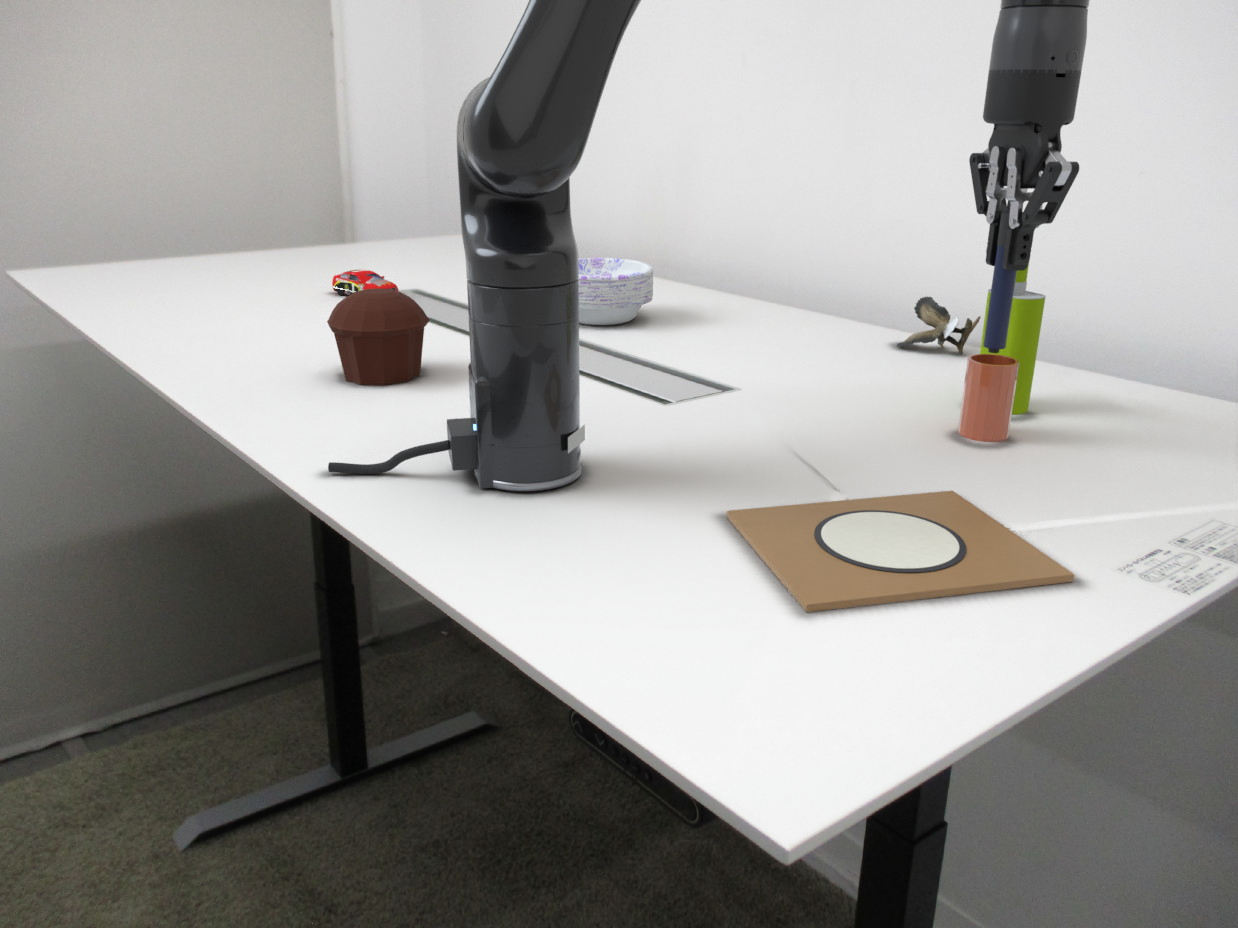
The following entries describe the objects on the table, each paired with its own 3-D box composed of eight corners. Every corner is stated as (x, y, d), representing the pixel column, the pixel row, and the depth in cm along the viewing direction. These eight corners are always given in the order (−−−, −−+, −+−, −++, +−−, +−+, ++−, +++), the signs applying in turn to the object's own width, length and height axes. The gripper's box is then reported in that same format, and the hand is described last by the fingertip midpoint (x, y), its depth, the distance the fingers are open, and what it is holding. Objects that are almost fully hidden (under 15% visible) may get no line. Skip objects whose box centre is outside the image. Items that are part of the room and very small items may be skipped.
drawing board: (806, 612, 66) (807, 602, 66) (726, 517, 80) (726, 508, 80) (1073, 581, 70) (1075, 572, 70) (951, 496, 85) (952, 488, 85)
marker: (989, 355, 95) (1010, 214, 90) (977, 350, 97) (996, 211, 92) (1009, 354, 95) (1030, 213, 91) (997, 349, 97) (1017, 211, 93)
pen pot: (974, 447, 96) (985, 367, 94) (948, 432, 101) (958, 355, 98) (1016, 444, 97) (1029, 364, 95) (989, 429, 102) (1000, 352, 99)
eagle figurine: (978, 338, 134) (915, 317, 138) (983, 300, 129) (917, 279, 133) (952, 377, 131) (889, 354, 135) (956, 339, 126) (890, 317, 130)
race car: (405, 299, 163) (403, 274, 161) (377, 304, 159) (375, 279, 157) (355, 288, 171) (354, 264, 169) (328, 293, 167) (326, 268, 165)
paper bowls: (594, 336, 139) (594, 278, 136) (529, 317, 150) (527, 264, 147) (674, 320, 149) (675, 266, 146) (606, 304, 159) (606, 254, 156)
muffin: (312, 382, 116) (303, 296, 113) (366, 359, 126) (359, 279, 123) (401, 392, 113) (395, 304, 109) (450, 368, 122) (445, 286, 119)
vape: (990, 400, 111) (1016, 215, 104) (1033, 415, 106) (1064, 222, 99) (965, 405, 110) (990, 217, 103) (1008, 420, 105) (1037, 223, 98)
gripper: (953, 67, 93) (930, 257, 99) (1046, 64, 80) (1013, 282, 86) (1025, 68, 94) (999, 255, 100) (1127, 66, 82) (1090, 279, 88)
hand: (1006, 266), depth 93 cm, fingers closed on marker, 2 cm apart
